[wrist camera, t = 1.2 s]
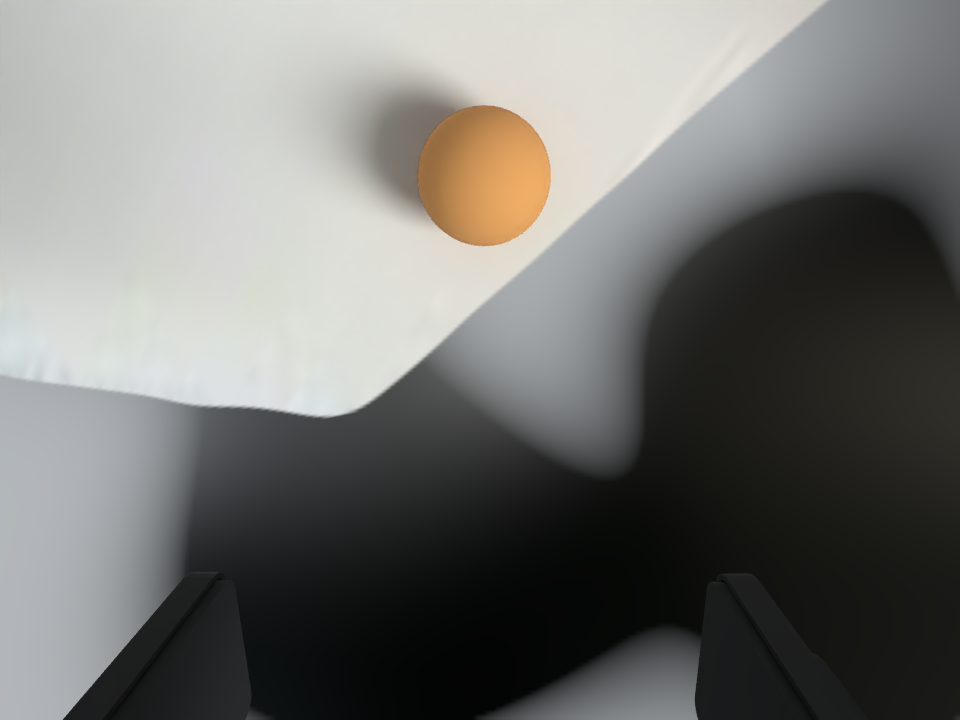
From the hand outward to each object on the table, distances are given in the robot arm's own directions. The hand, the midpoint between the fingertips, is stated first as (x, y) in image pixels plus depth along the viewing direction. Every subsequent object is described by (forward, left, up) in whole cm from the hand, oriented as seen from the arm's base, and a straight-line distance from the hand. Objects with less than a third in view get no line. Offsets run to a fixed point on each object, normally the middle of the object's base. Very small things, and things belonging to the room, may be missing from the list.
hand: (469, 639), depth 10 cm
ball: (0, -9, -17) cm, 20 cm away
